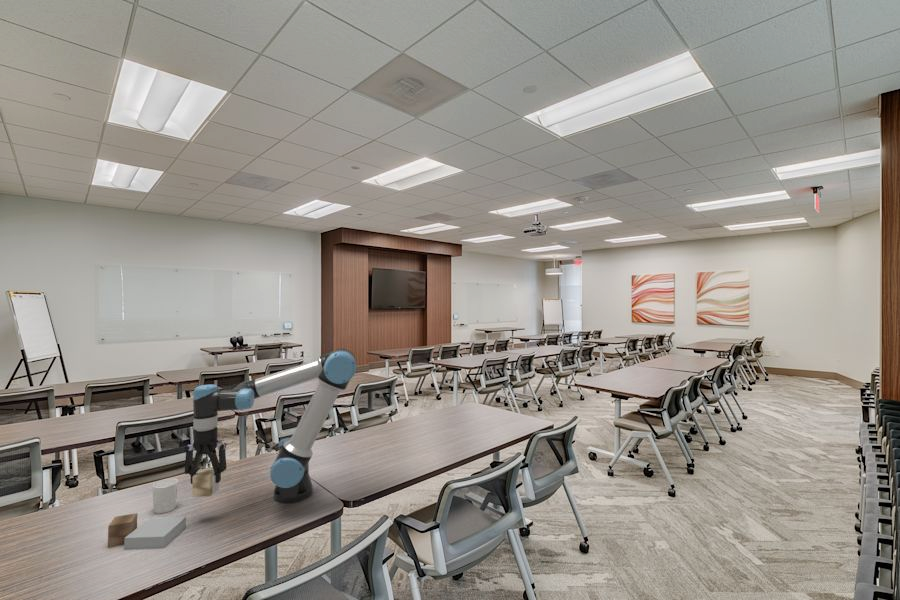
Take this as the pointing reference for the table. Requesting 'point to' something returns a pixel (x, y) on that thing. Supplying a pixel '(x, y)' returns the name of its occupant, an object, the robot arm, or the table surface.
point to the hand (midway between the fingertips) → (205, 491)
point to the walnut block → (121, 529)
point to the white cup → (165, 495)
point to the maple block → (202, 483)
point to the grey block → (155, 533)
